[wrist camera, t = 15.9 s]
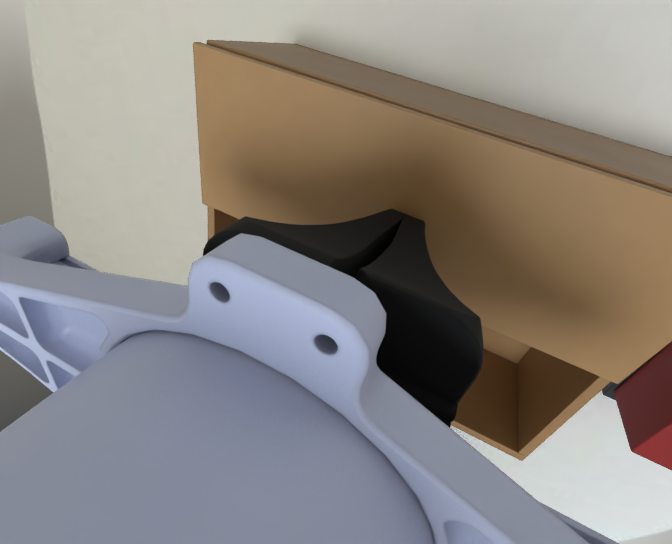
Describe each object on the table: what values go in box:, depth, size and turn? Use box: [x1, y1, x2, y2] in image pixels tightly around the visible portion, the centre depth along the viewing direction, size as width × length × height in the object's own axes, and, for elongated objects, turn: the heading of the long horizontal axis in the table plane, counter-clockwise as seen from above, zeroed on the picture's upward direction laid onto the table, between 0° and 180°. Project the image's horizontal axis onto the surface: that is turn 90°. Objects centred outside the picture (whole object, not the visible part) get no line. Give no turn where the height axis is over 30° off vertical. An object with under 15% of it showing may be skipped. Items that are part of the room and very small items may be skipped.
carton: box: [207, 40, 672, 461], centre depth 17 cm, size 18×13×6 cm
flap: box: [193, 42, 672, 384], centre depth 12 cm, size 18×6×1 cm, turn 78°
